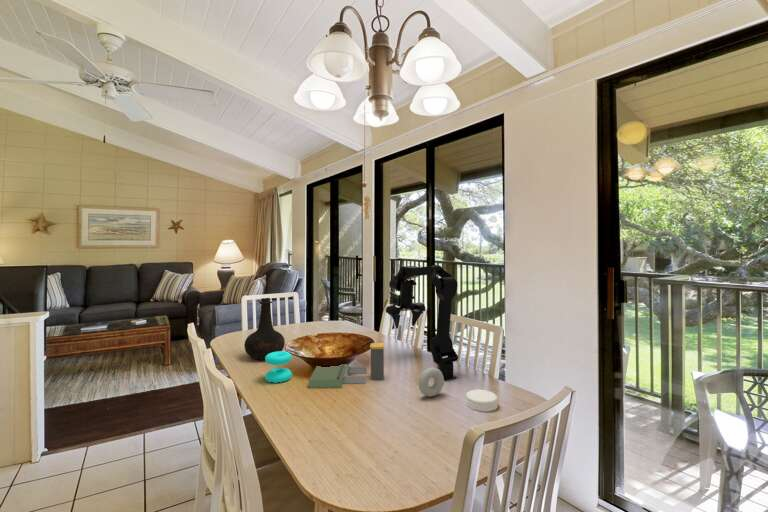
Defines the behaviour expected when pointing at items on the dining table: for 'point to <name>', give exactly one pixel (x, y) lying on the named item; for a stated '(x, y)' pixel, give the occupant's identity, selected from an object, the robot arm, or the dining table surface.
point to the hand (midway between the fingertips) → (405, 327)
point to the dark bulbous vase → (264, 335)
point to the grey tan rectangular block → (377, 361)
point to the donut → (424, 380)
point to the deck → (336, 376)
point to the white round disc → (481, 400)
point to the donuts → (278, 373)
